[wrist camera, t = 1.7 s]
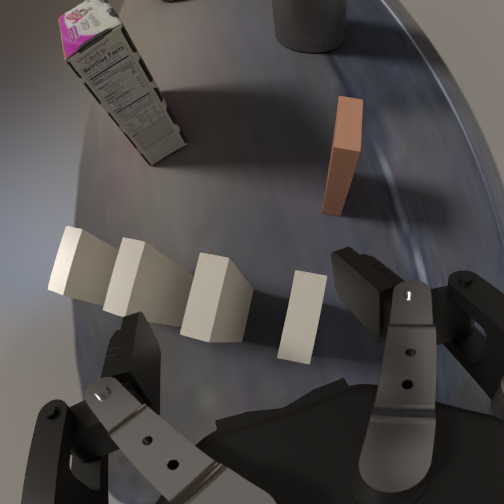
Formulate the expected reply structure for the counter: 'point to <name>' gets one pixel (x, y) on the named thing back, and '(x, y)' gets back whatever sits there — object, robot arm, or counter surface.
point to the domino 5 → (343, 154)
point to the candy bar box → (119, 78)
